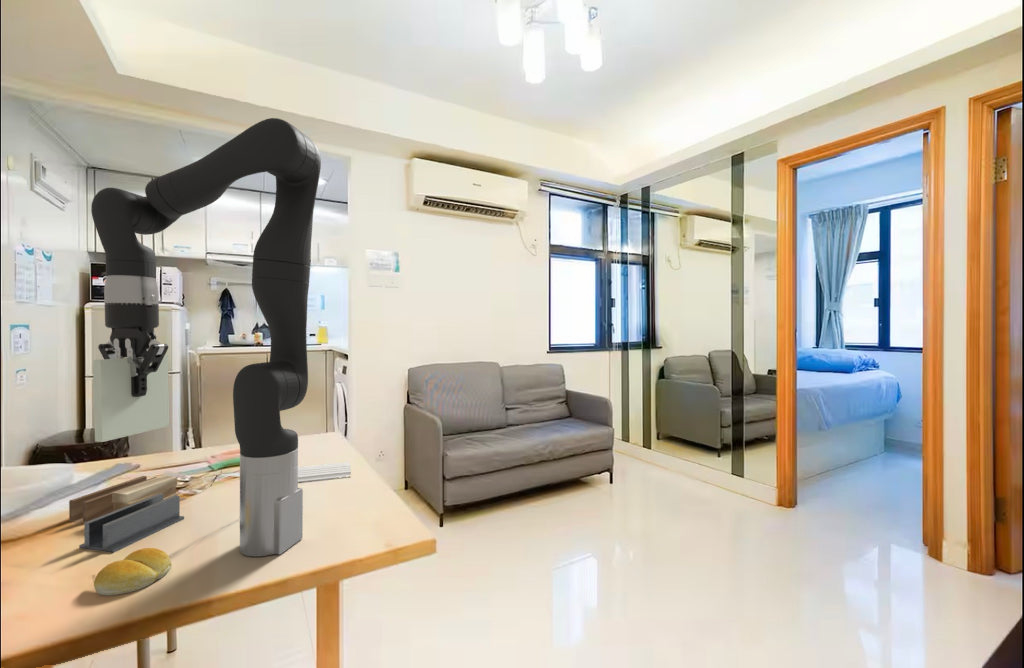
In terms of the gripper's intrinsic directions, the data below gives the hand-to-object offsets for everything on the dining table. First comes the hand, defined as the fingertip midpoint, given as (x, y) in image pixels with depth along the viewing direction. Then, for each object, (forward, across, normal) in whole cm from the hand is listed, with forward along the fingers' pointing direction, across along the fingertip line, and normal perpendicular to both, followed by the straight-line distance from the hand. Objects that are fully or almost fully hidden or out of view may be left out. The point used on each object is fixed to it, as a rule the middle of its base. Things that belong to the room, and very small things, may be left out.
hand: (134, 395), depth 81 cm
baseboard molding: (+27, +5, +33) cm, 43 cm away
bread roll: (+27, +13, -10) cm, 32 cm away
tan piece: (+25, -6, +7) cm, 27 cm away
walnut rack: (+26, -11, +7) cm, 29 cm away
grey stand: (+26, +1, -1) cm, 26 cm away
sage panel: (+7, 0, 0) cm, 7 cm away
